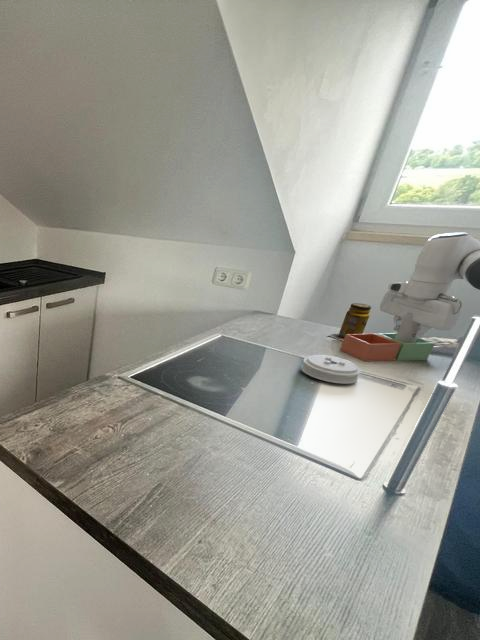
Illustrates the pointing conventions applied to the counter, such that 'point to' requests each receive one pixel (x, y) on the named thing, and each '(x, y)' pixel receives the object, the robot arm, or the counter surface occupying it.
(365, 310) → the condiment
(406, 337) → the beverage can
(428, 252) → the robot arm
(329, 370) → the lid
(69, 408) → the counter surface
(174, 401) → the counter surface
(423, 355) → the green bin
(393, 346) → the terracotta bin
